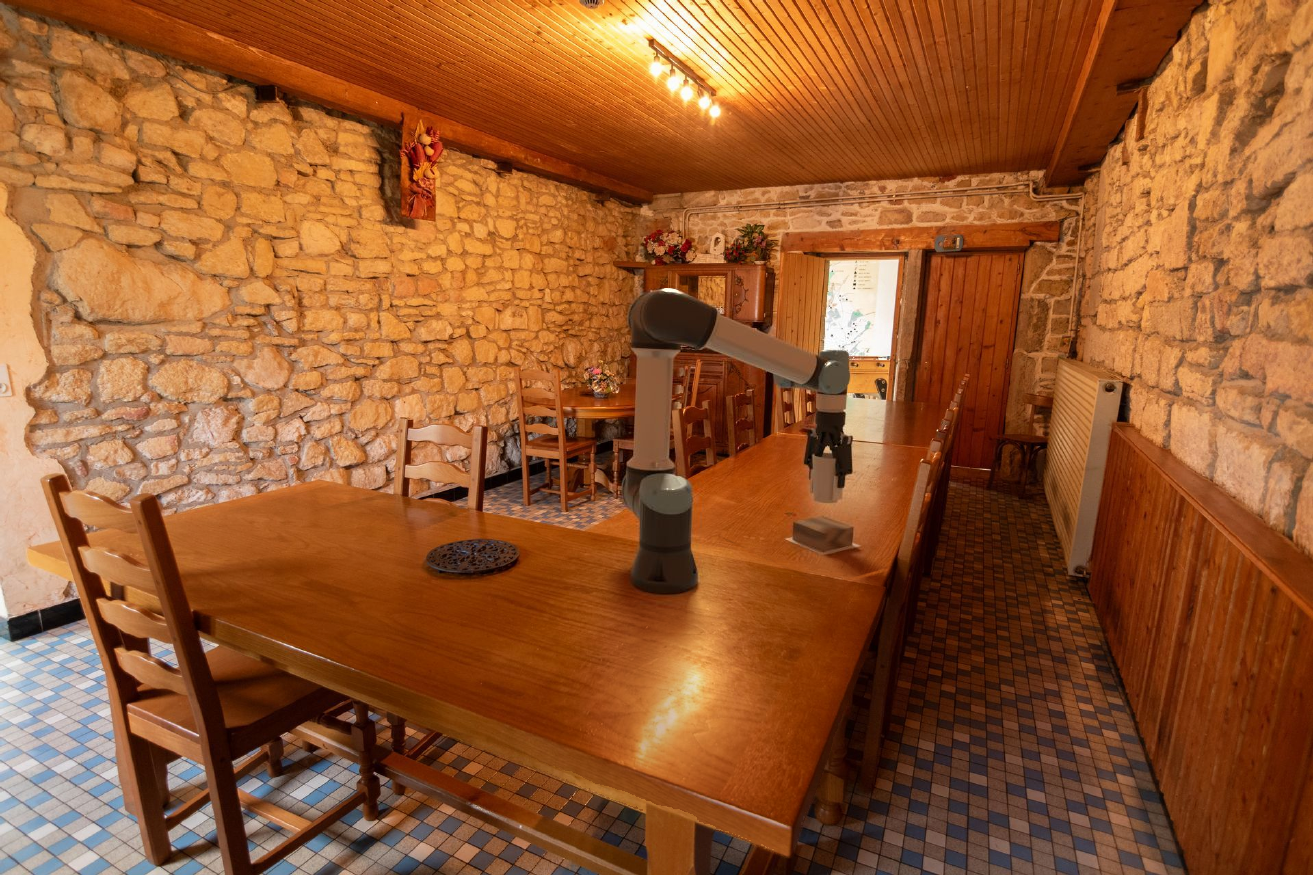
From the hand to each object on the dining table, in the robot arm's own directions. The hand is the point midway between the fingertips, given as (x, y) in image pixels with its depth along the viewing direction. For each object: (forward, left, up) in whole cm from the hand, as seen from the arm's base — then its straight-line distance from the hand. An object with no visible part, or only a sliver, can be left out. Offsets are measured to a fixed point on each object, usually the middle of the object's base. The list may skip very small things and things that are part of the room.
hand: (825, 495), depth 162 cm
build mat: (0, 0, -13) cm, 13 cm away
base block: (0, 0, -13) cm, 13 cm away
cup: (0, 0, -1) cm, 1 cm away
